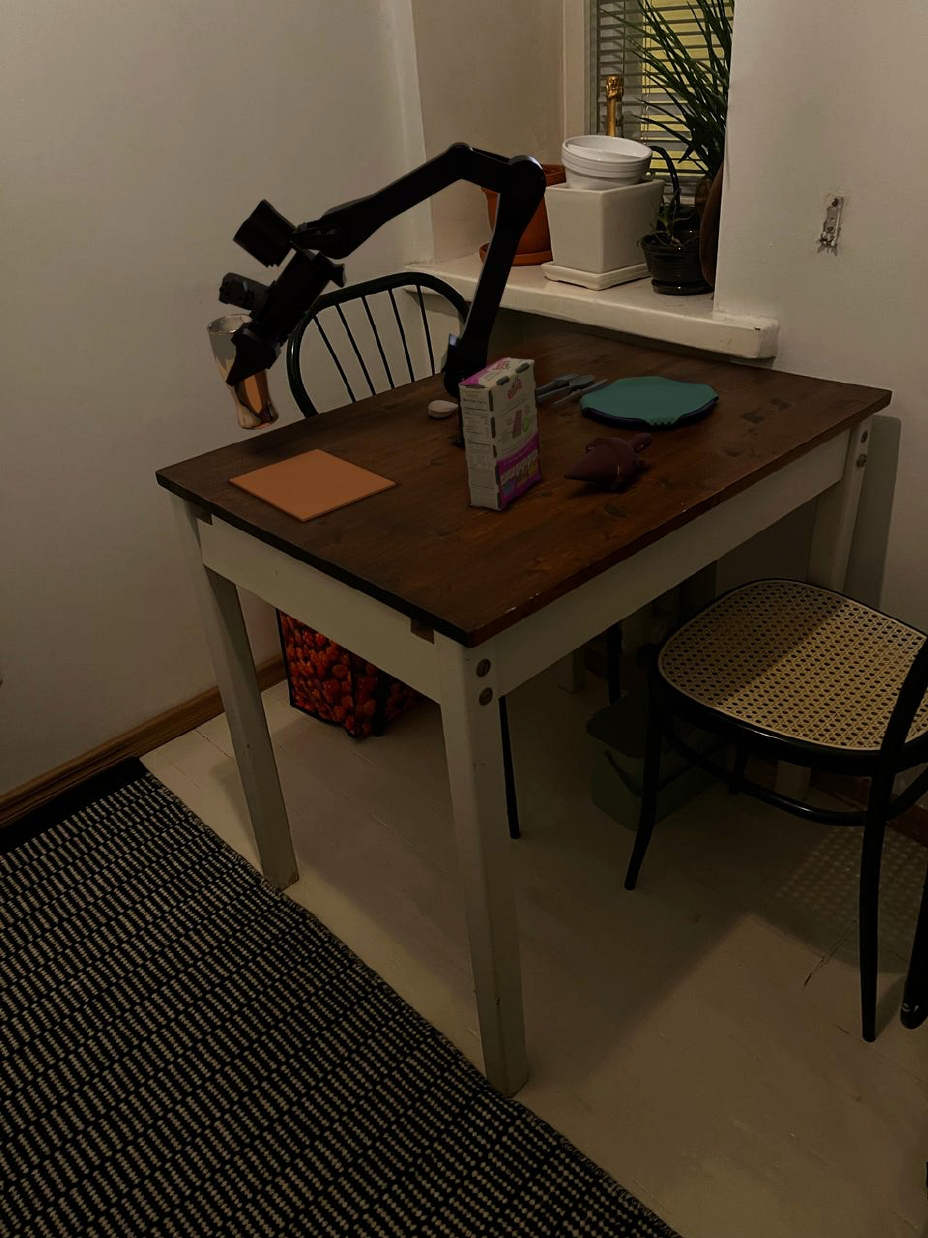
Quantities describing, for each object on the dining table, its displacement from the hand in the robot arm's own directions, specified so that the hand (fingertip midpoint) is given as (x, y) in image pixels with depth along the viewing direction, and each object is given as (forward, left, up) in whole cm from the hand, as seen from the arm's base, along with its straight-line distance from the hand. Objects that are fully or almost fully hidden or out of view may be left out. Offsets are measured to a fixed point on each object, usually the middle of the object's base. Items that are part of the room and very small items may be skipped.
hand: (234, 376), depth 137 cm
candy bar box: (-39, -17, -13) cm, 44 cm away
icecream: (-48, -27, -13) cm, 56 cm away
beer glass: (0, -2, -7) cm, 8 cm away
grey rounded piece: (-9, -31, -13) cm, 34 cm away
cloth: (-15, -1, -13) cm, 20 cm away
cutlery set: (-28, -52, -13) cm, 60 cm away
